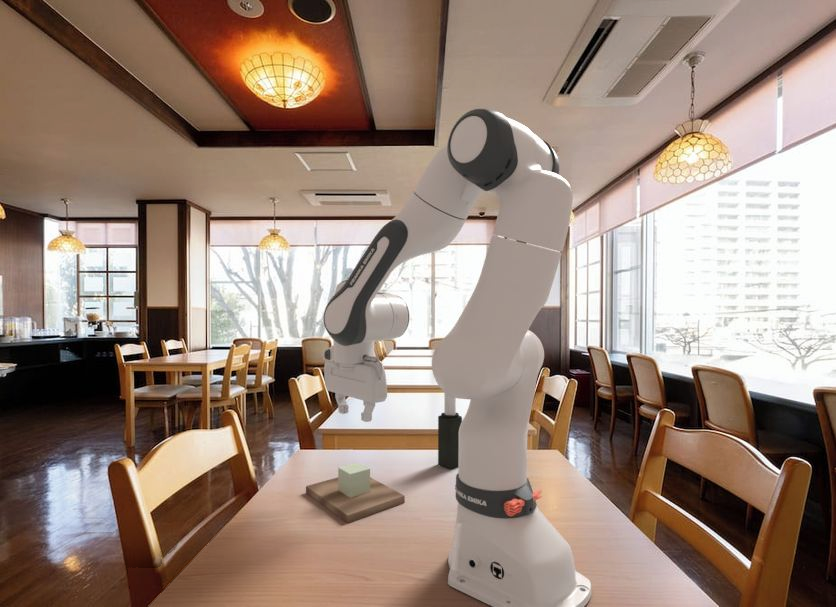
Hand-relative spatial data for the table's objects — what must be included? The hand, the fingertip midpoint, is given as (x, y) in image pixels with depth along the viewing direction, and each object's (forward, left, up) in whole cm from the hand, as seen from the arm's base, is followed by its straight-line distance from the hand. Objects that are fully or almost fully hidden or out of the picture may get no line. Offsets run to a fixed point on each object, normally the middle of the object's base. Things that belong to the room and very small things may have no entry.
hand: (354, 417), depth 99 cm
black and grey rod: (+1, -30, -18) cm, 35 cm away
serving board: (0, 0, -18) cm, 18 cm away
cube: (0, 0, -16) cm, 16 cm away
